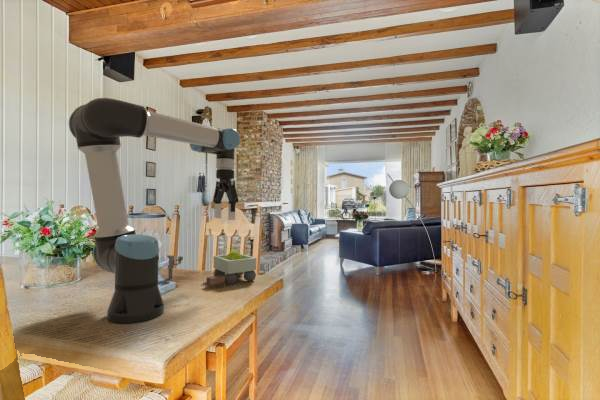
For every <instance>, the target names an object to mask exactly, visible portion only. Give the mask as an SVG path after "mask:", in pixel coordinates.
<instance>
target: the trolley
mask: <svg viewBox="0 0 600 400" xmlns="http://www.w3.org/2000/svg"><path fill="white" fill-rule="evenodd" d="M227 255H228V254H221V255H220V254H219V255H213V269H214V271H213V276H217V275H222V276H224V277H225V284H228V285H234V284H235V283H236V282H237V280H238V277H242V276H243V278H244V280H245V281H248V282H250V281H251V282H253V281H255V279H256V276H257V274H256V272H255V271H257V257H253V256H250V255H247V254H243V253H241V255H242V259H239V260H227Z"/></svg>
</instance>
